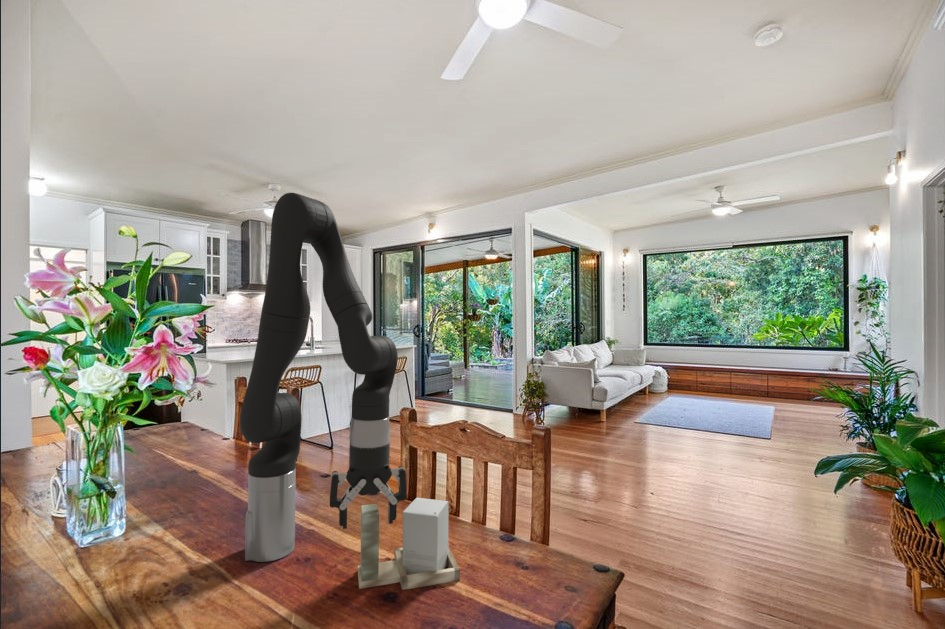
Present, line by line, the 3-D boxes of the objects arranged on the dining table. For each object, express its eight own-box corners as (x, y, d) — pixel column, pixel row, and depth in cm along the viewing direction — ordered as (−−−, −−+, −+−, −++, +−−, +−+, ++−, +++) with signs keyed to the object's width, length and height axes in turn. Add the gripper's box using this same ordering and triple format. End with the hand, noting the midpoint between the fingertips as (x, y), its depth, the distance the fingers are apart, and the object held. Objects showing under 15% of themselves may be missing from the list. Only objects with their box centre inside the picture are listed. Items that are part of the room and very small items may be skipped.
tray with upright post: (359, 597, 79) (360, 524, 79) (357, 563, 90) (357, 499, 90) (459, 580, 84) (460, 512, 84) (446, 550, 95) (446, 490, 95)
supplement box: (449, 562, 91) (450, 500, 91) (436, 583, 84) (437, 516, 84) (415, 556, 93) (416, 496, 93) (400, 576, 86) (401, 511, 86)
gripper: (330, 448, 79) (328, 539, 79) (410, 443, 83) (408, 529, 83) (331, 436, 86) (329, 519, 86) (404, 432, 90) (402, 511, 91)
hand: (368, 524), depth 85 cm, fingers open, 8 cm apart
